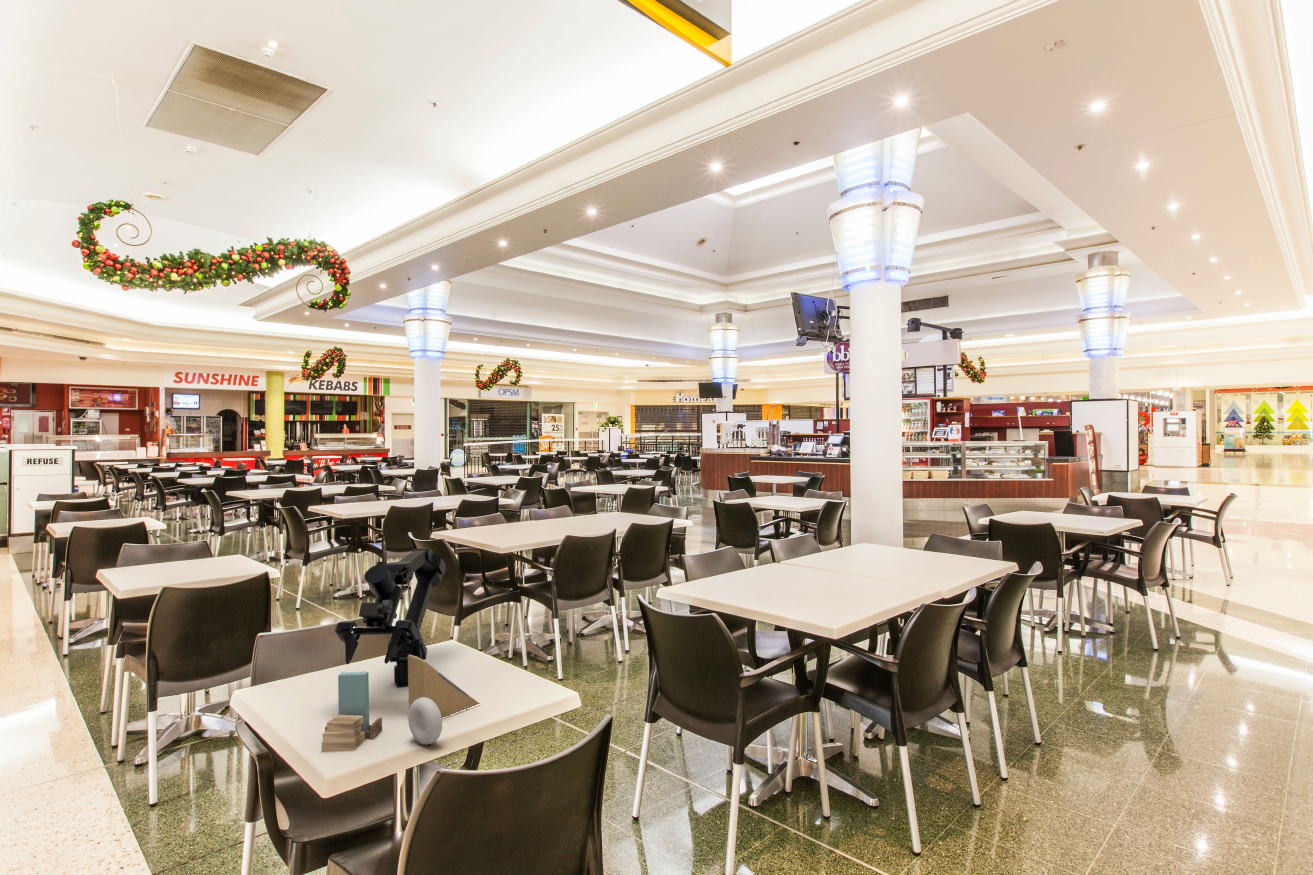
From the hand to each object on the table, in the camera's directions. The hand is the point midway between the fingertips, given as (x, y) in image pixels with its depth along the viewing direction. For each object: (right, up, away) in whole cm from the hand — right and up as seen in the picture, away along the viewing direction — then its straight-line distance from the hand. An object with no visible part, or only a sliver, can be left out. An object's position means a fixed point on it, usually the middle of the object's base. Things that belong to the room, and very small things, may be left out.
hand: (366, 663), depth 151 cm
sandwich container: (+17, -14, +6) cm, 23 cm away
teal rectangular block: (+1, -14, -8) cm, 16 cm away
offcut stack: (+1, -14, -13) cm, 19 cm away
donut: (+19, -13, -13) cm, 26 cm away
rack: (+1, -14, -8) cm, 16 cm away
